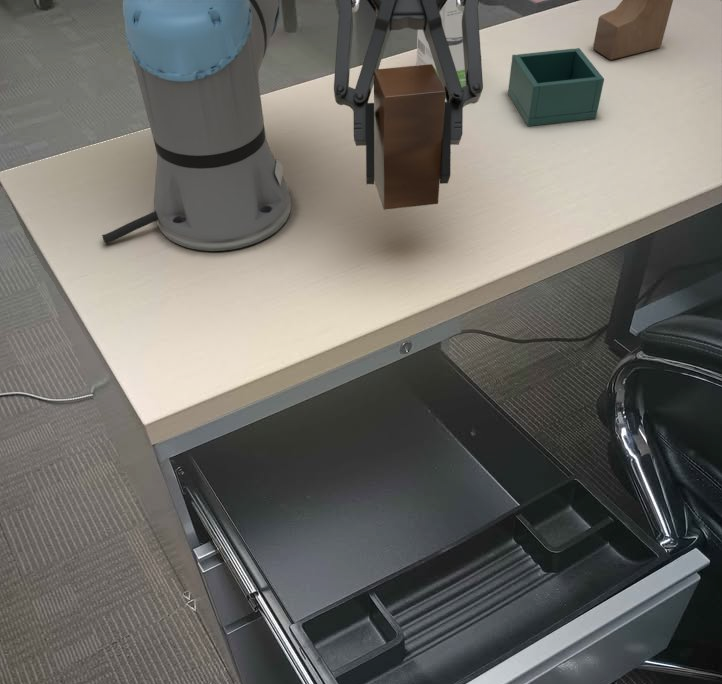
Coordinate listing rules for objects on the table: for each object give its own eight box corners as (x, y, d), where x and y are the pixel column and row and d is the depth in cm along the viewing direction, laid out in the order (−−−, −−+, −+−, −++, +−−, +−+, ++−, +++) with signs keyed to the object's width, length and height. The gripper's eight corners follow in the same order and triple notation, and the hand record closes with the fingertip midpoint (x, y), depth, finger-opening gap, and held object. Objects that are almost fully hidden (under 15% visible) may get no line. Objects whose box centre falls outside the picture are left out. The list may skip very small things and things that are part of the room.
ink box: (472, 88, 105) (480, -9, 95) (439, 95, 104) (444, -2, 94) (446, 62, 110) (451, -32, 100) (414, 69, 109) (416, -26, 99)
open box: (527, 126, 98) (533, 86, 94) (507, 93, 103) (512, 54, 99) (595, 118, 98) (604, 78, 94) (572, 86, 104) (579, 47, 100)
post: (383, 210, 75) (384, 97, 66) (373, 180, 78) (373, 69, 70) (438, 204, 76) (446, 91, 67) (426, 174, 79) (432, 63, 70)
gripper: (507, -62, 73) (503, 189, 76) (305, -58, 73) (309, 191, 76) (522, -113, 65) (517, 167, 68) (297, -109, 66) (301, 169, 69)
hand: (407, 179), depth 72 cm, fingers closed on post, 6 cm apart
